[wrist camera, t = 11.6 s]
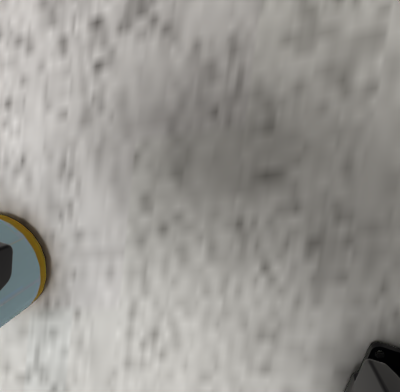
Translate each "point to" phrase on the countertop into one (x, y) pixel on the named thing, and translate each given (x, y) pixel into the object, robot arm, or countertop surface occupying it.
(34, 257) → the bottle
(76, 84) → the countertop surface
